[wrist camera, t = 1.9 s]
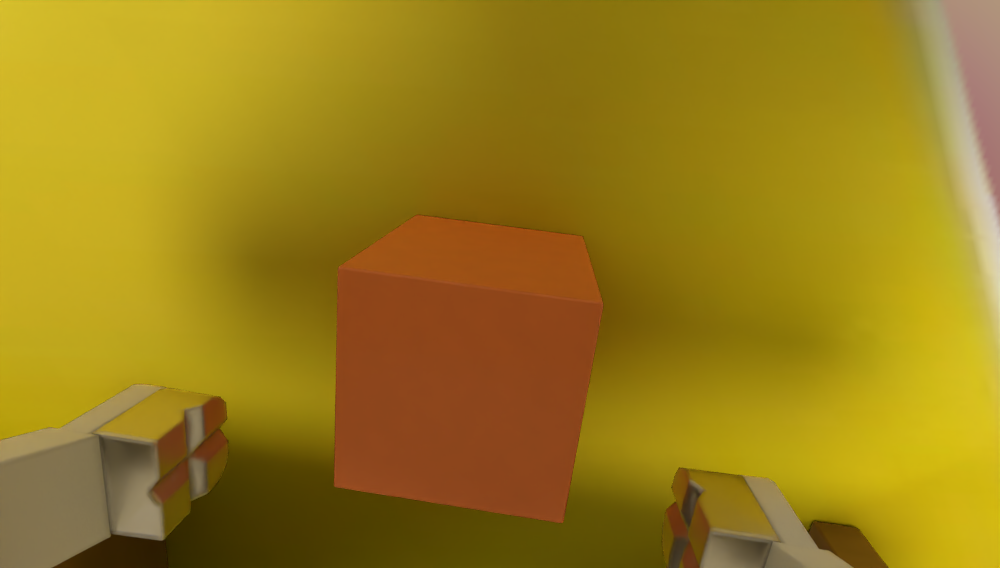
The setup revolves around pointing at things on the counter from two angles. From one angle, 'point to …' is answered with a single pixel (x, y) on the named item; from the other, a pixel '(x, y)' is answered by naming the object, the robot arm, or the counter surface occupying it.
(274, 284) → the counter surface
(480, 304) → the orange box
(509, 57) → the counter surface
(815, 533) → the shelf
